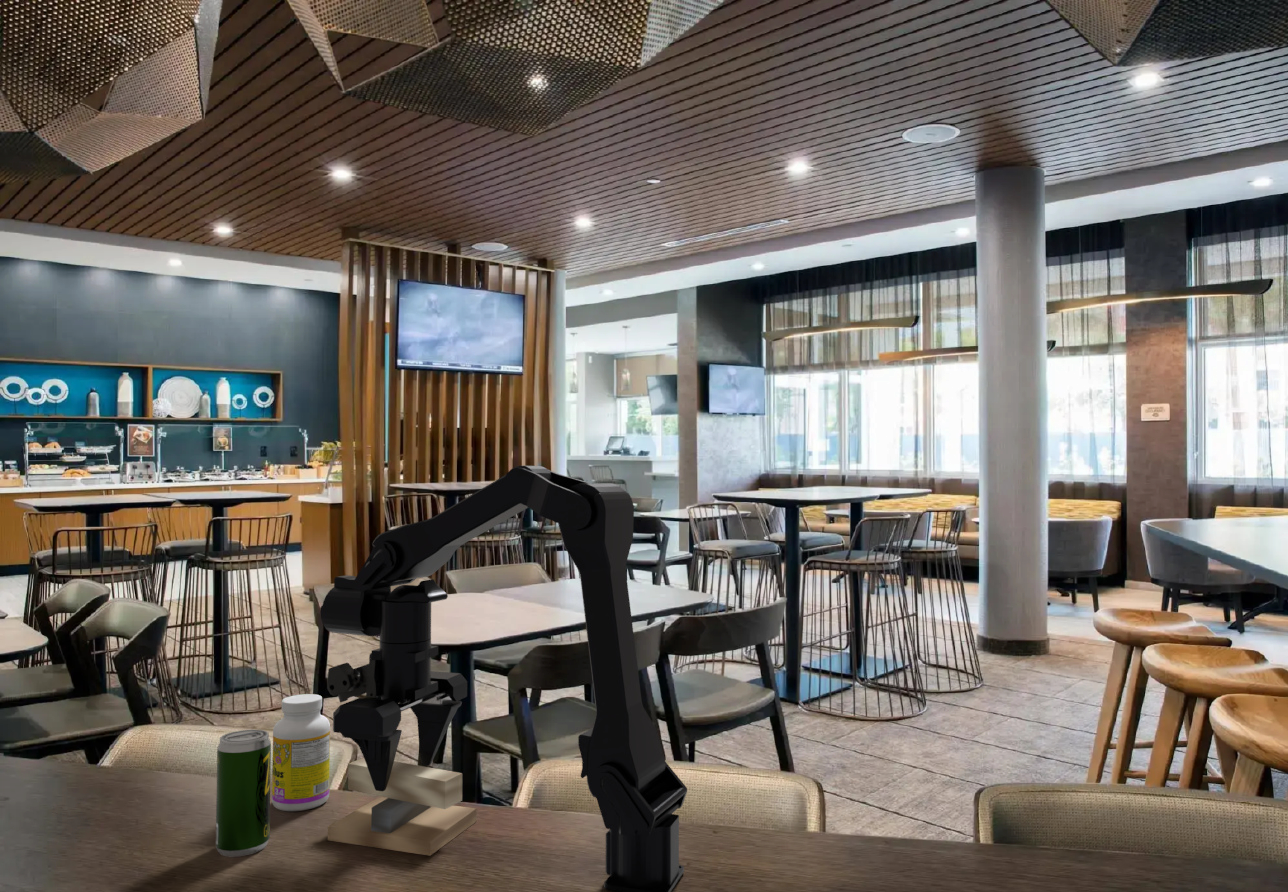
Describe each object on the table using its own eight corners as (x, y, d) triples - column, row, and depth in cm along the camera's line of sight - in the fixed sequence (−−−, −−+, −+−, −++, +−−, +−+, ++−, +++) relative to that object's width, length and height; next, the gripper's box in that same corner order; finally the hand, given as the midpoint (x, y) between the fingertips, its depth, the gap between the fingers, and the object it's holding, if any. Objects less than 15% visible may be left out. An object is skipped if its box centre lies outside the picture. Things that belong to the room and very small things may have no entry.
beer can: (219, 862, 94) (221, 746, 94) (211, 844, 98) (213, 733, 99) (274, 850, 97) (275, 737, 97) (264, 833, 101) (265, 726, 102)
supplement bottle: (270, 798, 112) (272, 694, 113) (326, 790, 115) (327, 689, 116) (273, 816, 106) (274, 707, 107) (332, 808, 109) (333, 701, 110)
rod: (462, 800, 101) (462, 773, 101) (445, 809, 98) (445, 781, 98) (366, 781, 107) (367, 756, 107) (348, 789, 104) (348, 763, 104)
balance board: (476, 821, 105) (476, 786, 105) (430, 855, 95) (430, 817, 95) (380, 808, 109) (381, 775, 109) (327, 840, 99) (328, 803, 100)
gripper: (392, 623, 114) (390, 747, 114) (291, 650, 97) (289, 797, 96) (469, 627, 111) (469, 755, 110) (380, 656, 93) (378, 809, 93)
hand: (404, 777), depth 102 cm, fingers open, 9 cm apart
